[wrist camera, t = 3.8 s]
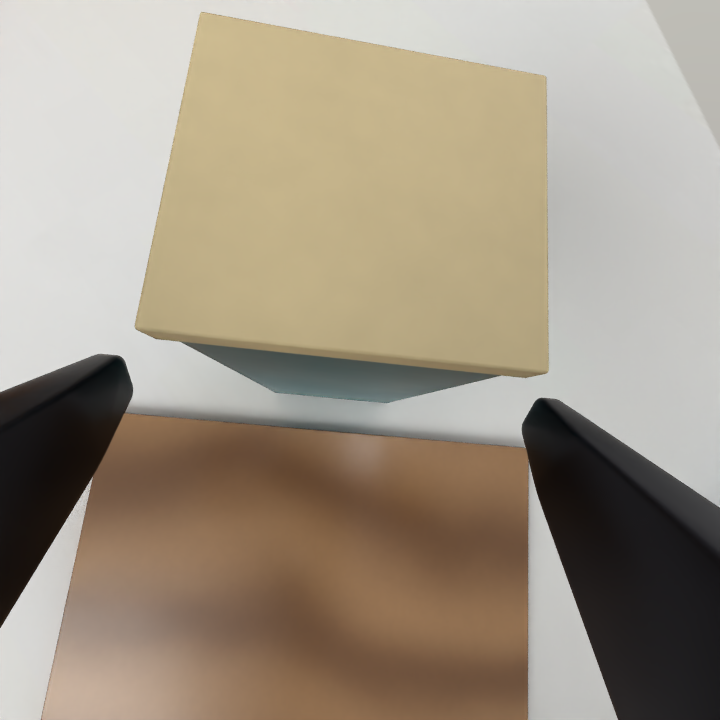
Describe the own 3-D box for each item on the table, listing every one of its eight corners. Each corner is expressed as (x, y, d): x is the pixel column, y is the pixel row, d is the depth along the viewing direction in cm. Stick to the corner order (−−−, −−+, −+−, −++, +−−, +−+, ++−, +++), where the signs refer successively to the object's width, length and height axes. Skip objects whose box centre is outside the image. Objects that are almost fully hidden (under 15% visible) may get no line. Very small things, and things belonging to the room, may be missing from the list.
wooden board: (522, 887, 14) (527, 900, 14) (7, 902, 13) (-3, 918, 12) (524, 447, 18) (528, 448, 17) (111, 411, 16) (106, 411, 16)
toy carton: (389, 405, 17) (550, 373, 5) (272, 394, 17) (131, 328, 5) (396, 306, 18) (548, 74, 6) (285, 293, 18) (199, 9, 5)
